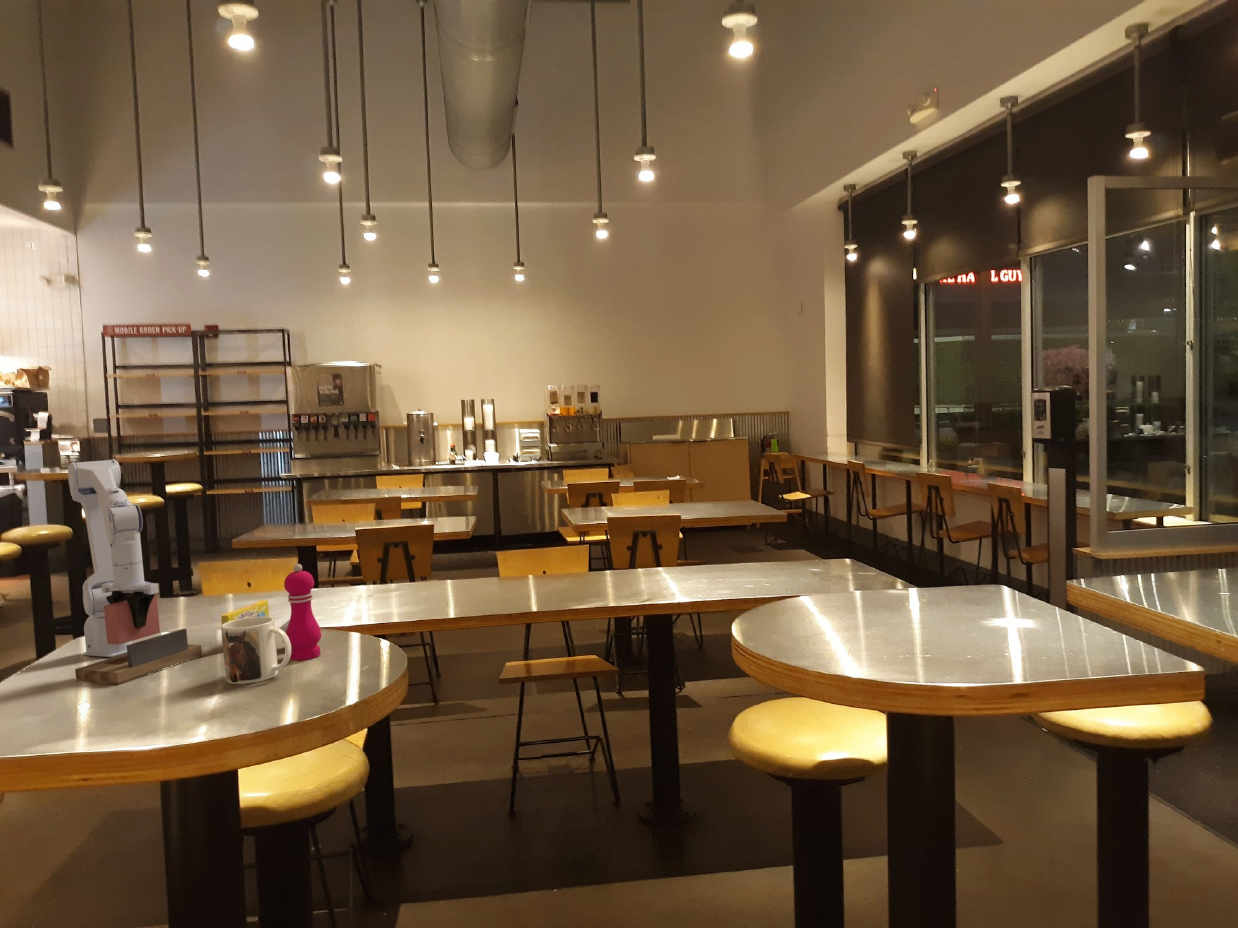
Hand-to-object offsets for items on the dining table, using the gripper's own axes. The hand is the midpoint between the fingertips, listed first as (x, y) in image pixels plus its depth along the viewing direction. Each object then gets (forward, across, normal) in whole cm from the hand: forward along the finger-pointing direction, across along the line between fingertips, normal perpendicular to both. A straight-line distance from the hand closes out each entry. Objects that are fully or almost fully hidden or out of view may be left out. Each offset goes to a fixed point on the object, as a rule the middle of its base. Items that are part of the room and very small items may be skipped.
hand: (133, 626), depth 199 cm
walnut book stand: (+9, +1, 0) cm, 9 cm away
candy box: (+9, +8, +23) cm, 26 cm away
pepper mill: (+9, +32, +15) cm, 36 cm away
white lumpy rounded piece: (+9, +24, +21) cm, 33 cm away
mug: (+9, +33, 0) cm, 34 cm away
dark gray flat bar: (+6, +7, 0) cm, 9 cm away
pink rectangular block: (+2, 0, 0) cm, 2 cm away
